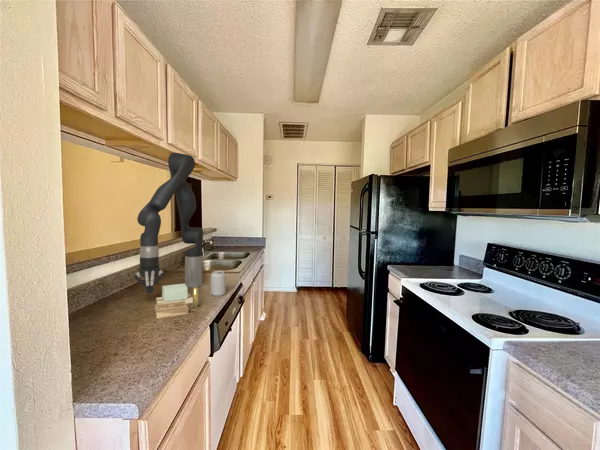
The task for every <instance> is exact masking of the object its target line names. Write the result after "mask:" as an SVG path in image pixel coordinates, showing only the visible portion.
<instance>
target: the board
mask: <svg viewBox="0 0 600 450" xmlns="http://www.w3.org/2000/svg"><path fill="white" fill-rule="evenodd" d="M178 301H185V303H186V304H187V305H188V304H193V295H192V294H190V293H188V295H187V299H182V300H174V301H167V302H164V297H162V296H160V297H155V302H156V305H157V304H164V303H171V302H178Z"/></svg>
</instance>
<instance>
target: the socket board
mask: <svg viewBox="0 0 600 450" xmlns="http://www.w3.org/2000/svg"><path fill="white" fill-rule="evenodd" d="M154 312H155V317H156V319H158V320H159V319H164V318H168V317H169V318H170V317H175V316H180V315H188V314H189V306H188V303H187V304H186V303H185V301H178V302H171V303H164V304H157V303H156V304H154Z"/></svg>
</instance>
